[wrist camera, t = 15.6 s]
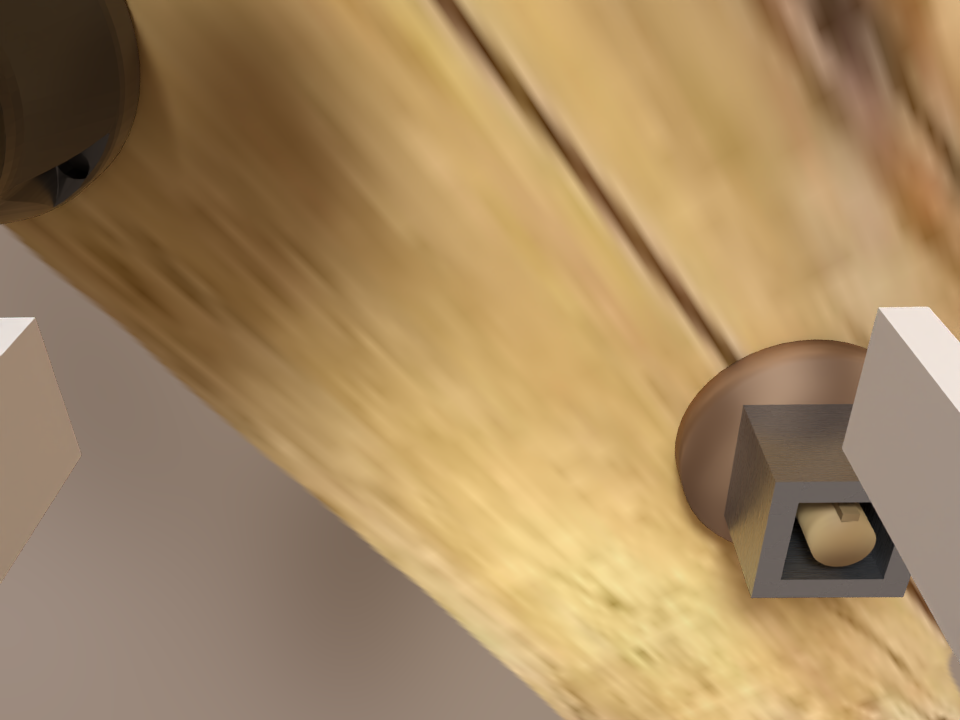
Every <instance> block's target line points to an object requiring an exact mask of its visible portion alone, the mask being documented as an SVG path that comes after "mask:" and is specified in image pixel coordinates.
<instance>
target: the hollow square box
mask: <svg viewBox="0 0 960 720" xmlns="http://www.w3.org/2000/svg"><path fill="white" fill-rule="evenodd" d="M852 407H853V404H794V405H743V409H742V415H741V421H740V426H739V432H738V438H737V443H736V449H735V455H734V461H733V466H732V472H731V478H730V483H729V489H728V495H727V500H726V506H725V512H724V517H725V520H726V523H727V526H728V529H729V532H730V535H731V538H732V541H733V544H734V547H735V550H736V553H737V556H738V559H739V562H740V565H741V568H742V571H743V574H744V578H745V581H746V584H747V587H748V590H749V593H750V596H751V598H809V597H903V596H904V593H905V590H906V587H907V585H908V582H909V579H910V576H911V574H910V572H909V571H908V569H907V567H906V565H905V563H904V561H903V560H902V558H901V556H900V554H899V552H898V550H897V549H896V547H895V545H894V543H893V541H892V539H891V538H890V536H889V534H888V532H887V530H886V528H885V527H884V525H883V523H882V521H881V519H880V517H879V516H878V514H877V512H876V510H875V508H874V506H873V505H872V503H871V501H870V499H869V497H868V496H867V494H866V492H865V490H864V488H863V486H862V485H861V483H860V481H859V479H858V477H857V475H856V474H855V472H854V470H853V468H852V466H851V464H850V463H849V461H848V459H847V457H846V455H845V453H844V452H843V450H842V446H843V442H844V438H845V435H846V431H847V427H848V423H849V419H850V415H851V411H852ZM835 502H859V504H860V506H861V508H862V510H863V511H864V513H865V515H866V517H867V519H868V521H869V523H870V525H871V527H872V528H873V530H874V532H875V535H876V542H875V546H874V548H873V549H872V551H871V552H870V553H869V554H868V555H867V556H866V557H865V558H863V559H862V560H860V561H858V562H856V563H854V564H851V565H847V566H840V567H833V566H827V565H824V564H822V563H820V562H818V561H817V560H816V559H815V558H814V557H813V555H812V553H811V550H810V548H809V546H808V543H807V541H806V539H805V536H804V534H803V532H802V529H801V527H800V525H799V522H798V520H797V518H796V512H797V508H798V504H799V503H835Z"/></svg>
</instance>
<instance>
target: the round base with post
mask: <svg viewBox="0 0 960 720" xmlns="http://www.w3.org/2000/svg"><path fill="white" fill-rule="evenodd" d="M866 353H867V349H865V348H863V347H860V346H857V345H853V344H850V343H845V342H839V341H833V340H803V341H795V342H789V343H783V344H779V345H776V346H772V347H769V348H765V349H763V350H760V351H758V352H755V353H753V354H750V355H748V356H746V357H744V358H742V359H740V360H739V361H737V362H735V363H733V364H732V365H730V366H729V367H727V368H726V369H724V370H723V371H721V372H720V373H719V374H718V375H716V376H715V377H714V378H713V379H712V380H710V381H709V382H708V383H707V384H706V385H705V386H704V387H703V388H702V390H701V391H700V392H699V393H698V394H697V395H696V397H695V398H694V399H693V401H692V402H691V403H690V405H689V407H688V408H687V410H686V412H685V414H684V416H683V418H682V421H681V423H680V426H679V428H678V433H677V437H676V445H675V457H676V464H677V468H678V472H679V475H680V479H681V483H682V486H683V490H684V493H685V496H686V499H687V501H688V503H689V505H690V507H691V509H692V511H693V512H694V513H695V515H696V516H697V517H698V519H699V520H700V521H701V522H702V523H703V524H704V525H705V526H706V527H707V528H709V529H710V530H711V531H713V532H714V533H716V534H717V535H719V536H720V537H722V538H724V539H726V540H728V541H730V542H733V541H732V538H731V535H730V532H729V529H728V526H727V523H726V520H725V517H724V512H725V506H726V500H727V495H728V489H729V483H730V478H731V472H732V466H733V461H734V455H735V449H736V443H737V438H738V432H739V426H740V421H741V415H742V409H743V405H794V404H854V400H855V396H856V392H857V388H858V384H859V380H860V376H861V373H862V369H863V365H864V361H865V357H866ZM796 518H797V520H798V522H799V525H800V527H801V529H802V532H803V534H804V536H805V539H806V541H807V543H808V546H809V548H810V550H811V553H812V555H813V557H814V558H815V559H816V560H817V561H818V562H820V563H822V564H824V565H827V566H833V567H840V566H847V565H851V564H854V563H856V562H858V561H860V560H862V559H863V558H865V557H866V556H867V555H868V554H869V553H870V552H871V551H872V549H873V548H874V546H875V542H876V535H875V532H874V530H873V528H872V527H871V525H870V523H869V521H868V519H867V517H866V515H865V513H864V511H863V510H862V508H861V506H860V504H859V502H835V503H799V504H798V508H797V512H796Z"/></svg>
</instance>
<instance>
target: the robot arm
mask: <svg viewBox="0 0 960 720" xmlns="http://www.w3.org/2000/svg"><path fill="white" fill-rule="evenodd" d="M139 89H140V65H139V55H138V47H137V42H136V37H135V33H134V29H133V25H132V21H131V18H130V15H129V12H128V9H127V6H126V4H125V1H124V0H0V224H4V223H10V222H15V221H20V220H25V219H29V218H32V217H36V216H38V215H41V214H44V213H46V212H48V211H50V210H53V209H55V208H57V207H59V206H61V205H63V204H64V203H66V202H68V201H69V200H71V199H72V198H74V197H75V196H76V195H78V194H79V193H80V192H82V191H83V190H84V189H85V188H86V187H87V186H88V185H89V184H90V183H91V182H92V181H94V180H95V179H96V178H97V177H98V176H99V175H100V174H101V173H102V172H103V171H104V170H105V169H106V168H107V167H108V166H109V165H110V164H111V163H112V161H113V160H114V159H115V157H116V156H117V155H118V153H119V151H120V150H121V148H122V147H123V145H124V143H125V141H126V139H127V137H128V135H129V132H130V130H131V127H132V124H133V121H134V118H135V114H136V110H137V105H138V98H139ZM842 450H843V452H844V453H845V455H846V457H847V459H848V461H849V463H850V464H851V466H852V468H853V470H854V472H855V474H856V475H857V477H858V479H859V481H860V483H861V485H862V486H863V488H864V490H865V492H866V494H867V496H868V497H869V499H870V501H871V503H872V505H873V506H874V508H875V510H876V512H877V514H878V516H879V517H880V519H881V521H882V523H883V525H884V527H885V528H886V530H887V532H888V534H889V536H890V538H891V539H892V541H893V543H894V545H895V547H896V549H897V550H898V552H899V554H900V556H901V558H902V560H903V561H904V563H905V565H906V567H907V569H908V571H909V572H910V574H911V576H912V578H913V580H914V582H915V583H916V585H917V587H918V589H919V591H920V592H921V594H922V596H923V598H924V600H925V602H926V603H927V605H928V607H929V609H930V611H931V613H932V614H933V616H934V618H935V620H936V622H937V624H938V625H939V627H940V629H941V631H942V633H943V635H944V636H945V638H946V640H947V642H948V644H949V646H950V647H951V649H952V651H953V653H954V655H955V657H956V658H957V660H958V662H959V664H960V342H959V341H958V340H957V339H956V338H955V337H954V335H953V334H952V333H951V332H950V331H949V330H948V329H947V327H946V326H945V325H944V324H943V323H942V322H941V321H940V319H939V318H938V317H937V316H936V315H935V314H934V313H933V311H932V310H931V309H930V308H929V307H878V311H877V314H876V318H875V322H874V326H873V330H872V334H871V338H870V342H869V345H868V349H867V353H866V357H865V361H864V365H863V369H862V373H861V376H860V380H859V384H858V388H857V392H856V396H855V400H854V404H853V407H852V411H851V415H850V419H849V423H848V427H847V431H846V435H845V438H844V442H843V446H842ZM81 456H82V454H81V451H80V448H79V445H78V442H77V439H76V436H75V433H74V430H73V427H72V424H71V421H70V419H69V415H68V412H67V409H66V407H65V404H64V401H63V398H62V395H61V392H60V389H59V386H58V383H57V380H56V377H55V374H54V371H53V368H52V365H51V362H50V359H49V356H48V354H47V350H46V347H45V345H44V341H43V338H42V336H41V333H40V330H39V327H38V324H37V321H36V318H35V317H16V318H0V583H1V582H2V580H3V579H4V577H5V576H6V574H7V573H8V571H9V570H10V568H11V566H12V565H13V563H14V562H15V560H16V559H17V557H18V555H19V554H20V552H21V551H22V549H23V547H24V546H25V544H26V543H27V541H28V540H29V538H30V536H31V535H32V533H33V532H34V530H35V528H36V527H37V525H38V524H39V522H40V520H41V519H42V517H43V516H44V514H45V513H46V511H47V509H48V508H49V506H50V505H51V503H52V502H53V500H54V498H55V497H56V495H57V494H58V492H59V490H60V489H61V487H62V486H63V484H64V483H65V481H66V479H67V478H68V476H69V475H70V473H71V471H72V470H73V468H74V467H75V465H76V464H77V462H78V460H79V459H80V457H81Z"/></svg>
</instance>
